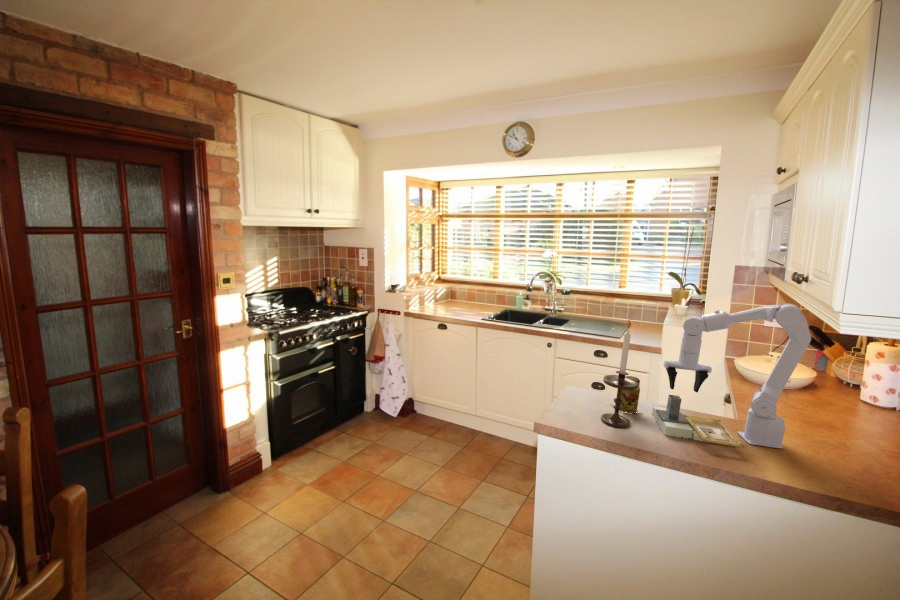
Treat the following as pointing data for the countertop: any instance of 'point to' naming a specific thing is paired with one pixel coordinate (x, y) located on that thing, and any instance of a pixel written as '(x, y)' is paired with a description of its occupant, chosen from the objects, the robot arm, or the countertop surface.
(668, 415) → the peg
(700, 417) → the gold rectangular frame
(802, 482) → the countertop surface
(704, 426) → the socket block
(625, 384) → the candlestick
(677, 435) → the square cutout plate
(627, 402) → the condiment
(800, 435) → the countertop surface
